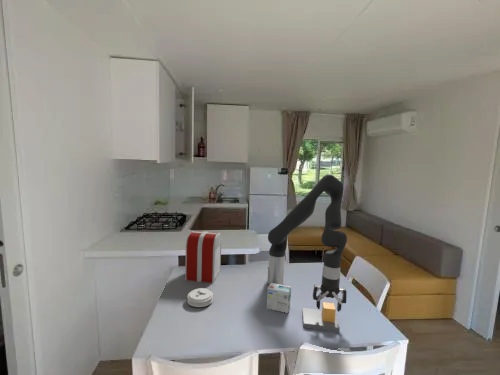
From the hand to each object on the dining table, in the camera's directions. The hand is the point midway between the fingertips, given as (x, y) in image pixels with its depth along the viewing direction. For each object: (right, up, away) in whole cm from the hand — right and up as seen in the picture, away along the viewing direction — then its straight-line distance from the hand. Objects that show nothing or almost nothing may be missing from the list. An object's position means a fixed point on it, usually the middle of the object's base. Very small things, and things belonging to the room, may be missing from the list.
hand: (328, 309), depth 117 cm
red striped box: (-64, +1, +43) cm, 77 cm away
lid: (-60, -3, +14) cm, 62 cm away
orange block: (0, -4, 0) cm, 4 cm away
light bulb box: (-21, -5, +11) cm, 24 cm away
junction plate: (-4, -6, +1) cm, 7 cm away
